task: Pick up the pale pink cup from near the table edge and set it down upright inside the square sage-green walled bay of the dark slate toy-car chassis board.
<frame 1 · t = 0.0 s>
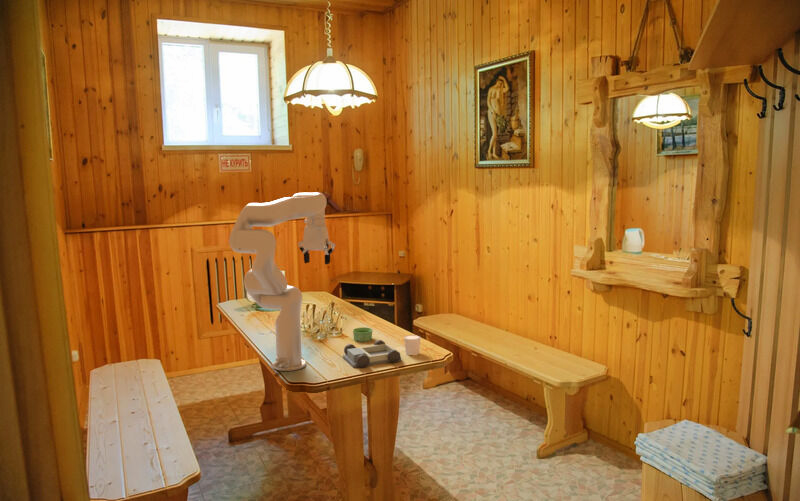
hand: (317, 263, 233), 37 cm above the table, tool pointing down, fingers open, 9 cm apart
chassis: (371, 359, 223), on the table
ramekin: (362, 339, 250), on the table
pale pink cup: (412, 354, 229), on the table
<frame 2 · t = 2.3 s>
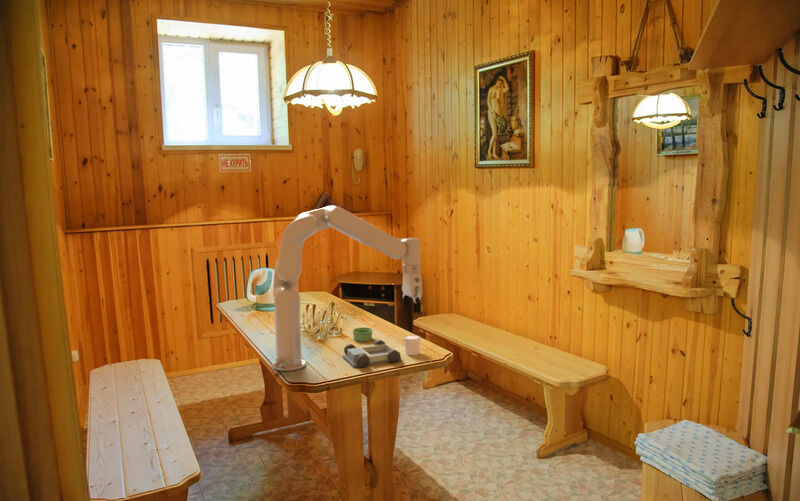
hand: (411, 309, 227), 19 cm above the table, tool pointing down, fingers open, 9 cm apart
nothing on the table moved.
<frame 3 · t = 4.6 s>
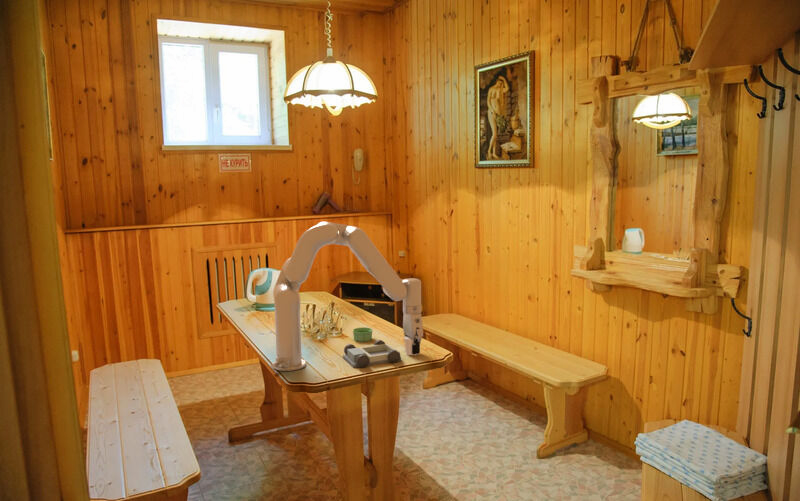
hand: (412, 350, 229), 1 cm above the table, tool pointing down, fingers closed on pale pink cup, 6 cm apart
pale pink cup: (412, 354, 229), on the table, touching gripper
everything else where it was.
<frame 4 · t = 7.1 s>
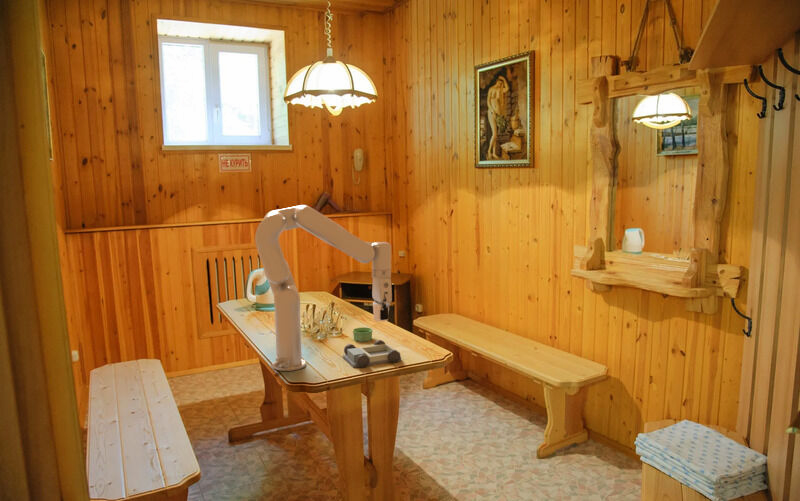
hand: (380, 317, 222), 17 cm above the table, tool pointing down, fingers closed on pale pink cup, 6 cm apart
pale pink cup: (381, 320, 222), point 15 cm above the table, touching gripper
everything else where it was.
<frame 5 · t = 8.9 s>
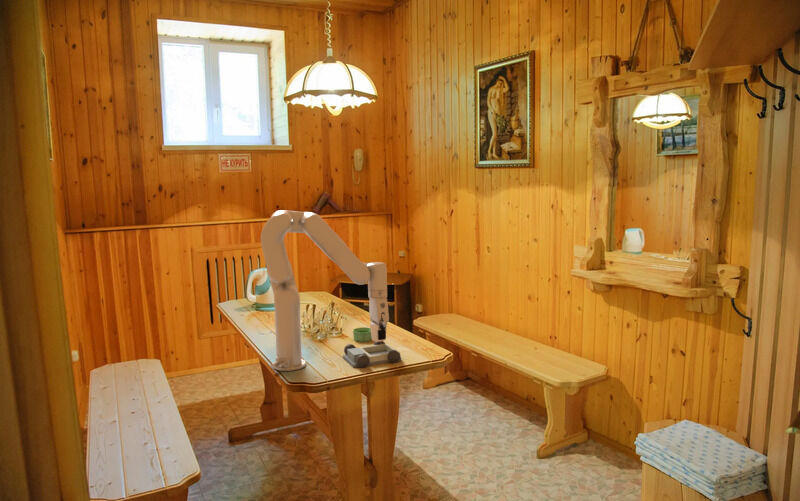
hand: (378, 336, 223), 9 cm above the table, tool pointing down, fingers closed on pale pink cup, 6 cm apart
pale pink cup: (378, 339, 223), point 8 cm above the table, touching gripper
everything else where it was.
when the fingers open (5 cm above the table, at t = 10.1 s): pale pink cup drops 3 cm, resting on chassis.
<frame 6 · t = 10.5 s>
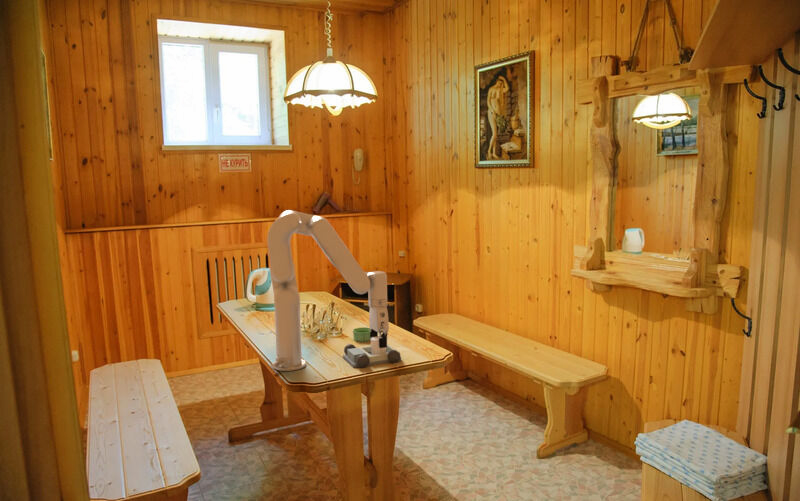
hand: (378, 344, 223), 6 cm above the table, tool pointing down, fingers open, 9 cm apart
pale pink cup: (378, 355, 223), point 1 cm above the table, touching chassis
everything else where it was.
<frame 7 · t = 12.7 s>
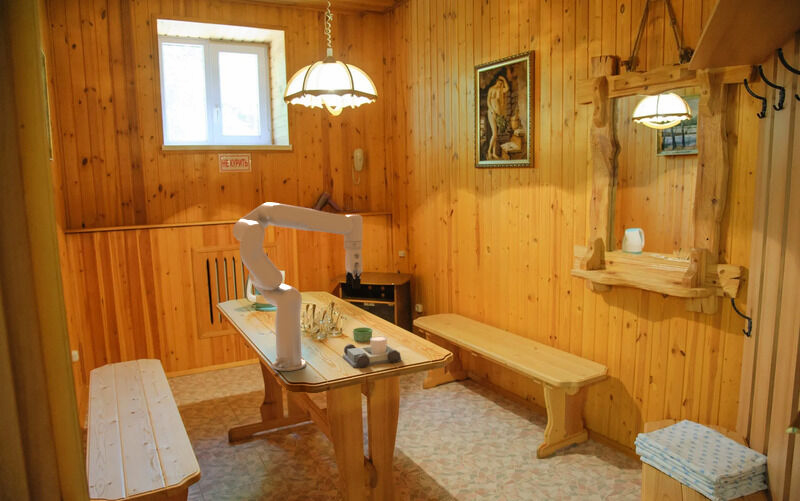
hand: (353, 286, 229), 28 cm above the table, tool pointing down, fingers open, 9 cm apart
nothing on the table moved.
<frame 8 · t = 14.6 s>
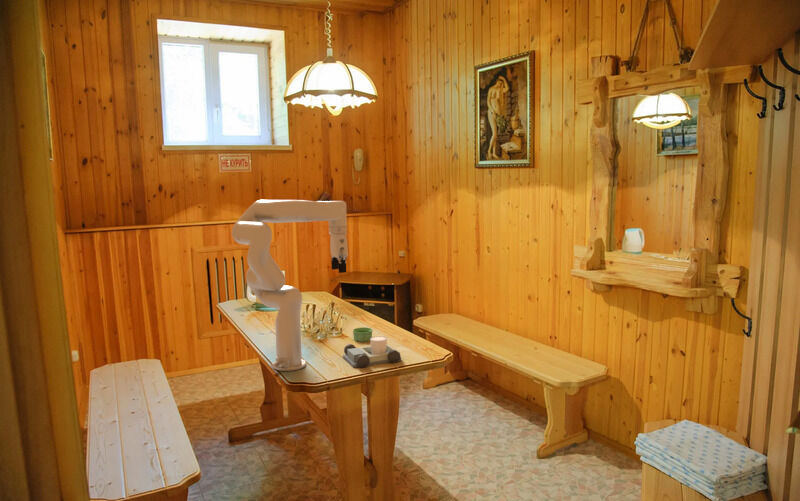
hand: (338, 270, 234), 33 cm above the table, tool pointing down, fingers open, 9 cm apart
nothing on the table moved.
at the end: pale pink cup 0.3 cm from the target spot on the chassis, point 1.0 cm above the chassis's base; pale pink cup tilted 0°; the gripper is holding nothing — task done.
